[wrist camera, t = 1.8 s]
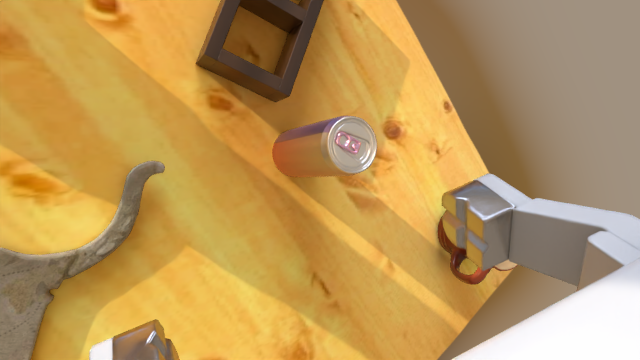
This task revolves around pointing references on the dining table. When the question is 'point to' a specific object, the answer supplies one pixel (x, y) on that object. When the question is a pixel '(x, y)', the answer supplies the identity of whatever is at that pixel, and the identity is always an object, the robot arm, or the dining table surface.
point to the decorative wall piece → (58, 270)
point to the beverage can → (326, 148)
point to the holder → (299, 23)
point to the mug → (461, 254)
